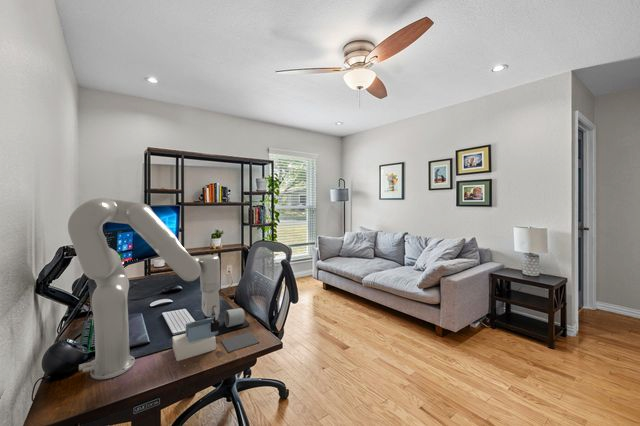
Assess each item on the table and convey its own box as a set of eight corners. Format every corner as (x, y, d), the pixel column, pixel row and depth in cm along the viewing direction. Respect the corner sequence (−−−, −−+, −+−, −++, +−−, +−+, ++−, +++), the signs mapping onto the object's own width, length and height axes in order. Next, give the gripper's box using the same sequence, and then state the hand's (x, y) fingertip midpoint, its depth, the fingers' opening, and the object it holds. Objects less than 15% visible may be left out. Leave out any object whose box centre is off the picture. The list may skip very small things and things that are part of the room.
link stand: (176, 361, 103) (176, 332, 102) (172, 348, 111) (172, 322, 110) (215, 349, 111) (215, 323, 110) (209, 338, 119) (209, 313, 118)
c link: (188, 342, 107) (188, 329, 106) (185, 335, 112) (185, 323, 111) (218, 334, 113) (218, 322, 113) (214, 328, 118) (214, 316, 118)
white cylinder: (246, 325, 131) (246, 309, 131) (229, 330, 127) (229, 313, 126) (238, 317, 140) (238, 302, 139) (221, 321, 135) (221, 306, 135)
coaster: (228, 352, 109) (228, 351, 109) (221, 341, 117) (221, 340, 117) (259, 342, 117) (259, 341, 117) (250, 332, 125) (250, 331, 125)
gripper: (195, 281, 118) (197, 320, 119) (206, 294, 104) (207, 338, 105) (214, 278, 122) (215, 316, 123) (226, 290, 108) (227, 332, 109)
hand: (211, 326), depth 114 cm, fingers open, 9 cm apart
